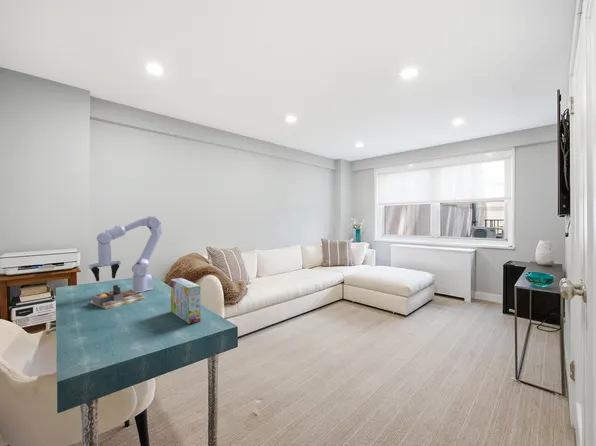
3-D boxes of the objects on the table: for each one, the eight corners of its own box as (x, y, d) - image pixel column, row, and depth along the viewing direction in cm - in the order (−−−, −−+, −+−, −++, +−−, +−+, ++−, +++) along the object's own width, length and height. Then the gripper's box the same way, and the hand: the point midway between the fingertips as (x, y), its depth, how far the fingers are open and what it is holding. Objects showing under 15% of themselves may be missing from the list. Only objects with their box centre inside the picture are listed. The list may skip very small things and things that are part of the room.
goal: (107, 298, 145) (106, 292, 145) (114, 301, 140) (114, 295, 140) (92, 302, 140) (92, 295, 140) (100, 305, 135) (99, 298, 135)
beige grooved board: (128, 293, 157) (128, 288, 157) (145, 299, 147) (144, 293, 147) (90, 302, 142) (90, 296, 142) (106, 309, 132) (106, 303, 132)
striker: (113, 298, 145) (112, 282, 145) (123, 301, 140) (122, 284, 139) (104, 300, 142) (104, 283, 142) (114, 303, 136) (113, 286, 136)
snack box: (202, 321, 116) (201, 285, 115) (188, 325, 112) (187, 287, 112) (182, 308, 132) (181, 276, 131) (170, 311, 128) (169, 279, 127)
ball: (95, 300, 139) (103, 302, 142) (98, 301, 136) (106, 303, 139) (99, 292, 140) (107, 294, 143) (102, 293, 138) (110, 295, 141)
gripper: (92, 257, 143) (93, 283, 144) (122, 253, 155) (123, 277, 156) (86, 256, 147) (87, 281, 148) (116, 252, 159) (117, 276, 160)
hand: (105, 279), depth 152 cm, fingers open, 7 cm apart
